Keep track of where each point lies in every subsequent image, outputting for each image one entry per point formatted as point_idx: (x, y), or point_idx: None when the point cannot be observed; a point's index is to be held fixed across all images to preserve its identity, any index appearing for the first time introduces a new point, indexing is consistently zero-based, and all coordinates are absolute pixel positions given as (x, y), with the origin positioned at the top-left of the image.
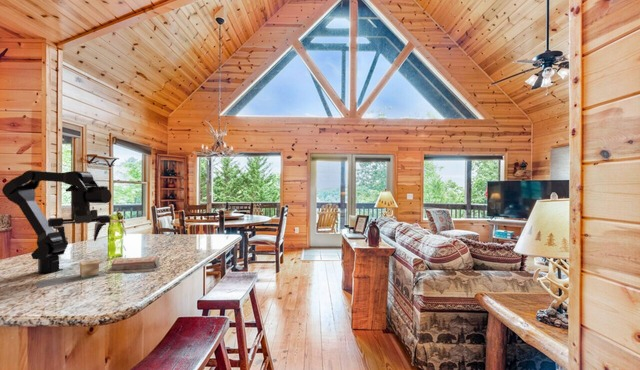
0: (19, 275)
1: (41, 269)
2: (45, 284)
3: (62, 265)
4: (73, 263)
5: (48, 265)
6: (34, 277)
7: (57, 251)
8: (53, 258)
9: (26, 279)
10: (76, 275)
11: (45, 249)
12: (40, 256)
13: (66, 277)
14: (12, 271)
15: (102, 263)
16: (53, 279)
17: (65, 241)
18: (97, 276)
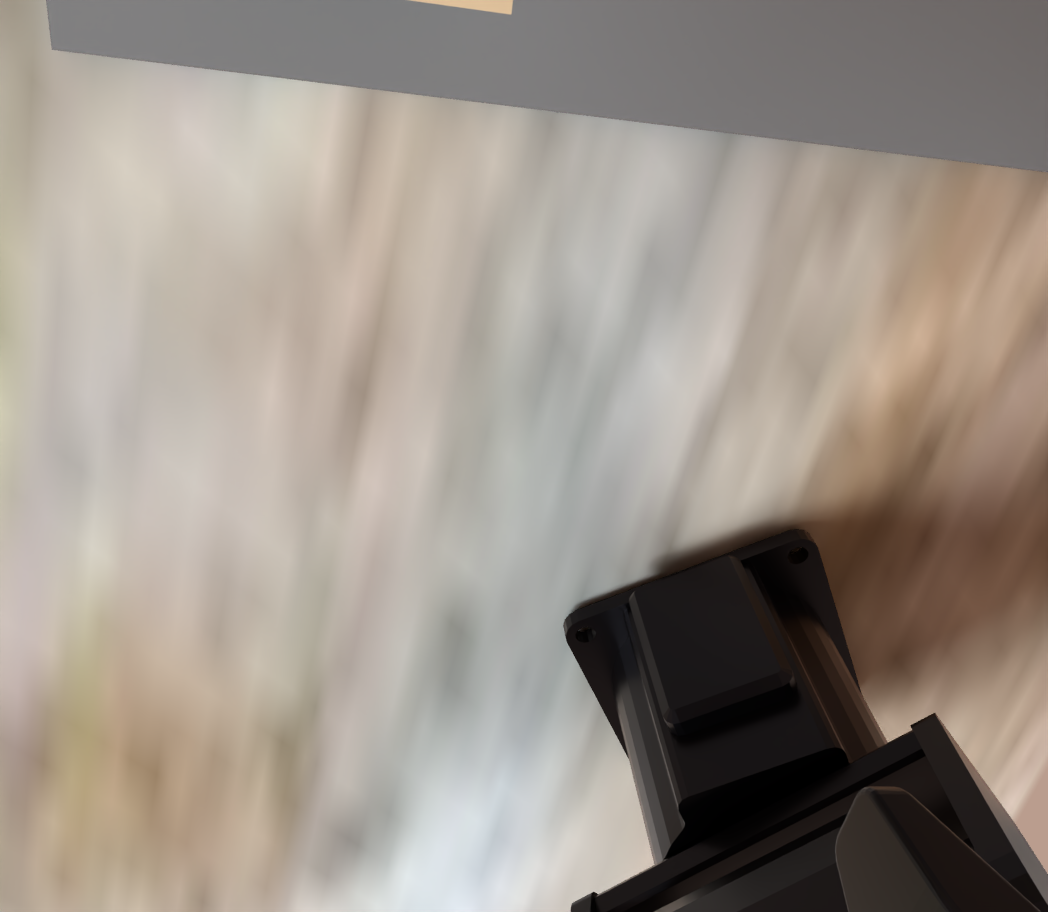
0: (958, 719)
1: (837, 654)
2: None
3: (488, 868)
4: (363, 887)
5: (798, 655)
6: (920, 511)
7: (757, 862)
8: (769, 749)
9: (1018, 477)
10: (530, 45)
11: (1039, 886)
12: (991, 799)
13: (697, 41)
14: None
15: (8, 673)
16: (884, 74)
17: (925, 859)
18: None
